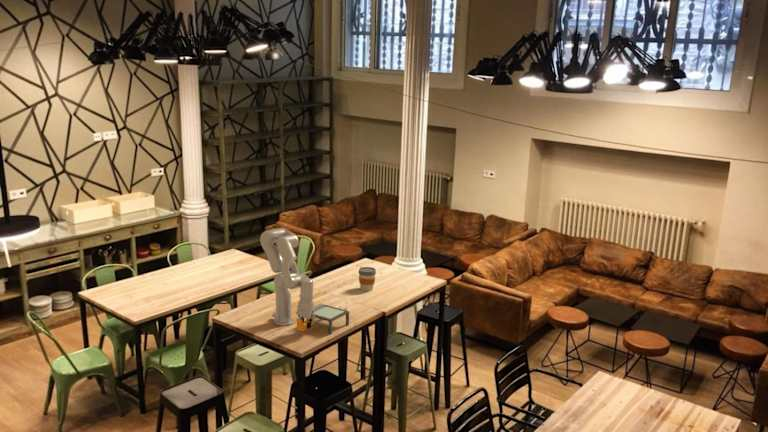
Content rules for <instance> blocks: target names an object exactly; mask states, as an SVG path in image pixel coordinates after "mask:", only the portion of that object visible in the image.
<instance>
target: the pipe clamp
mask: <svg viewBox="0 0 768 432" xmlns="http://www.w3.org/2000/svg"><path fill="white" fill-rule="evenodd" d="M305 319H306V318H305ZM309 320H310V318H309ZM307 322H308V320H307V319H306V320H304V322H302V319H300V318H299V317H298V318H296V330H298V331H300V332H304V331H306V330H308V329H307ZM313 324H314V320H313V321H312V322H311V326H312V325H313Z"/></svg>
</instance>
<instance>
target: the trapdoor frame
mask: <svg viewBox="0 0 768 432" xmlns="http://www.w3.org/2000/svg"><path fill="white" fill-rule="evenodd" d="M324 306H325V307H330V308H334V309H337V310H341V311H345V312H344V313H342V314H340V315H338V316H336V317H334V318H332V319H328V318H325V317H321V316H318V315H314V316H315V318H316V319H319V320H323V321H326V322H328V334H329V335H332V334H333V322H334V321H336V320H338V319H340V318H341V317H344V316H345V326H349V325H350V311H349V310H346V309H344V308H343V309H342V308H339V307H336V306H335V307H334V306H331V305H328V304H324ZM305 319H307V318H305Z"/></svg>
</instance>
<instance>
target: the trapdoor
mask: <svg viewBox="0 0 768 432" xmlns="http://www.w3.org/2000/svg"><path fill="white" fill-rule="evenodd" d="M324 305H325V304H324V303H318V304H316V305H314V315H318V316H321V317H325V318H328V319H332V318H334V317H336V316H338V315H340V314H342V313H344V312H345V311H341V310H337V309H334V308H330V307H325V306H324Z"/></svg>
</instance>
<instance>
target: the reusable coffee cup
mask: <svg viewBox="0 0 768 432" xmlns="http://www.w3.org/2000/svg"><path fill="white" fill-rule="evenodd" d="M376 274H377V271H376V268H374V267H370V266H363V267H360V268H358V281H359V286H360V290H361V291H362V292H371V291H373V290H374V284H375V281H376Z"/></svg>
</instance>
